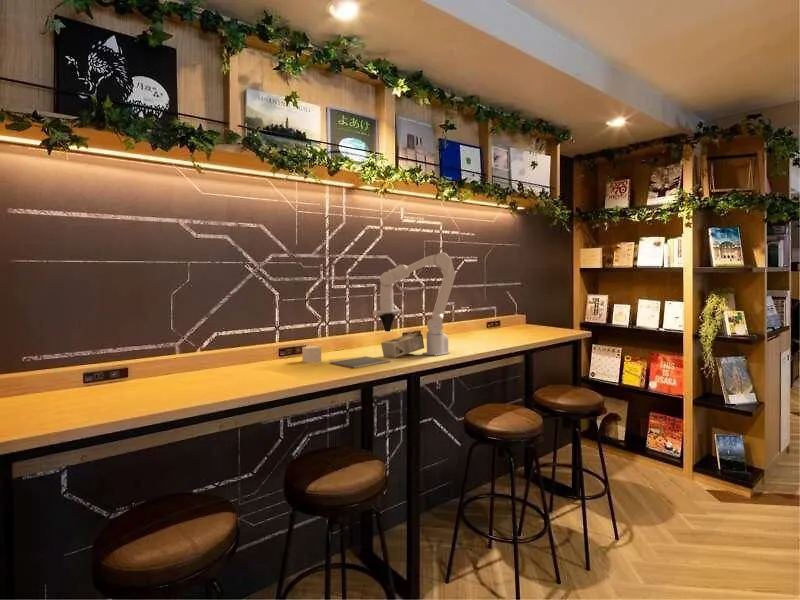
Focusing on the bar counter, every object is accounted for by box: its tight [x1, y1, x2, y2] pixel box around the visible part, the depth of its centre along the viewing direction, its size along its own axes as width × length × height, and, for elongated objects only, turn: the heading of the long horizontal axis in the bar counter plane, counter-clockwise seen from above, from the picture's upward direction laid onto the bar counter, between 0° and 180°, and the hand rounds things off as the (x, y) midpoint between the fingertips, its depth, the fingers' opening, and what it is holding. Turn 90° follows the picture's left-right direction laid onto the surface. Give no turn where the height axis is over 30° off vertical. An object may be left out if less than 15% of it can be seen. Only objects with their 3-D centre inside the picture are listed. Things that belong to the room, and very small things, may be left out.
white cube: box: [301, 345, 322, 364], centre depth 188 cm, size 6×6×6 cm
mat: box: [329, 356, 392, 369], centre depth 182 cm, size 18×16×1 cm
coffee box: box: [380, 333, 425, 359], centre depth 198 cm, size 9×6×16 cm
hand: (387, 331), depth 200 cm, fingers closed
